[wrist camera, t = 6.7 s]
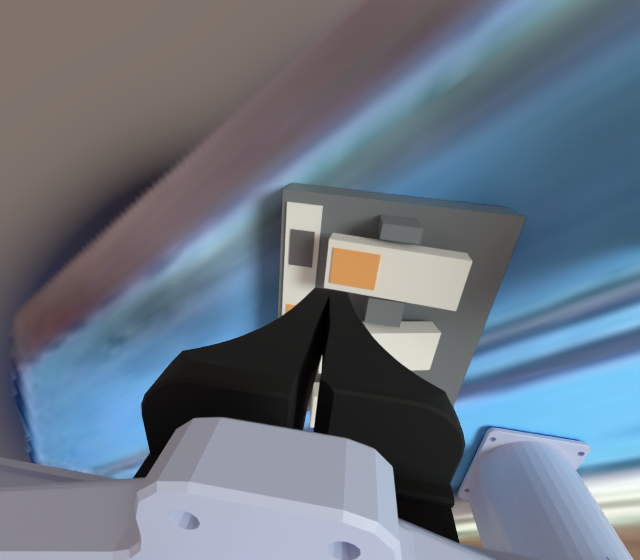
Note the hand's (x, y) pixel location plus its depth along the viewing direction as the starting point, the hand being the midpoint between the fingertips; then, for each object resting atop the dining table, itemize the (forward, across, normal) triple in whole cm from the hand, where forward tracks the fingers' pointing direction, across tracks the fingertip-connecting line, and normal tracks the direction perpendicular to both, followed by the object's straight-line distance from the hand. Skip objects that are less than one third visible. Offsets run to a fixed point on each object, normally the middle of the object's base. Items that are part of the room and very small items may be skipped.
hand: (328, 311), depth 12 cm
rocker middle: (+5, -3, +5) cm, 8 cm away
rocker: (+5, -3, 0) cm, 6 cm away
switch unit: (+9, -3, +5) cm, 11 cm away
